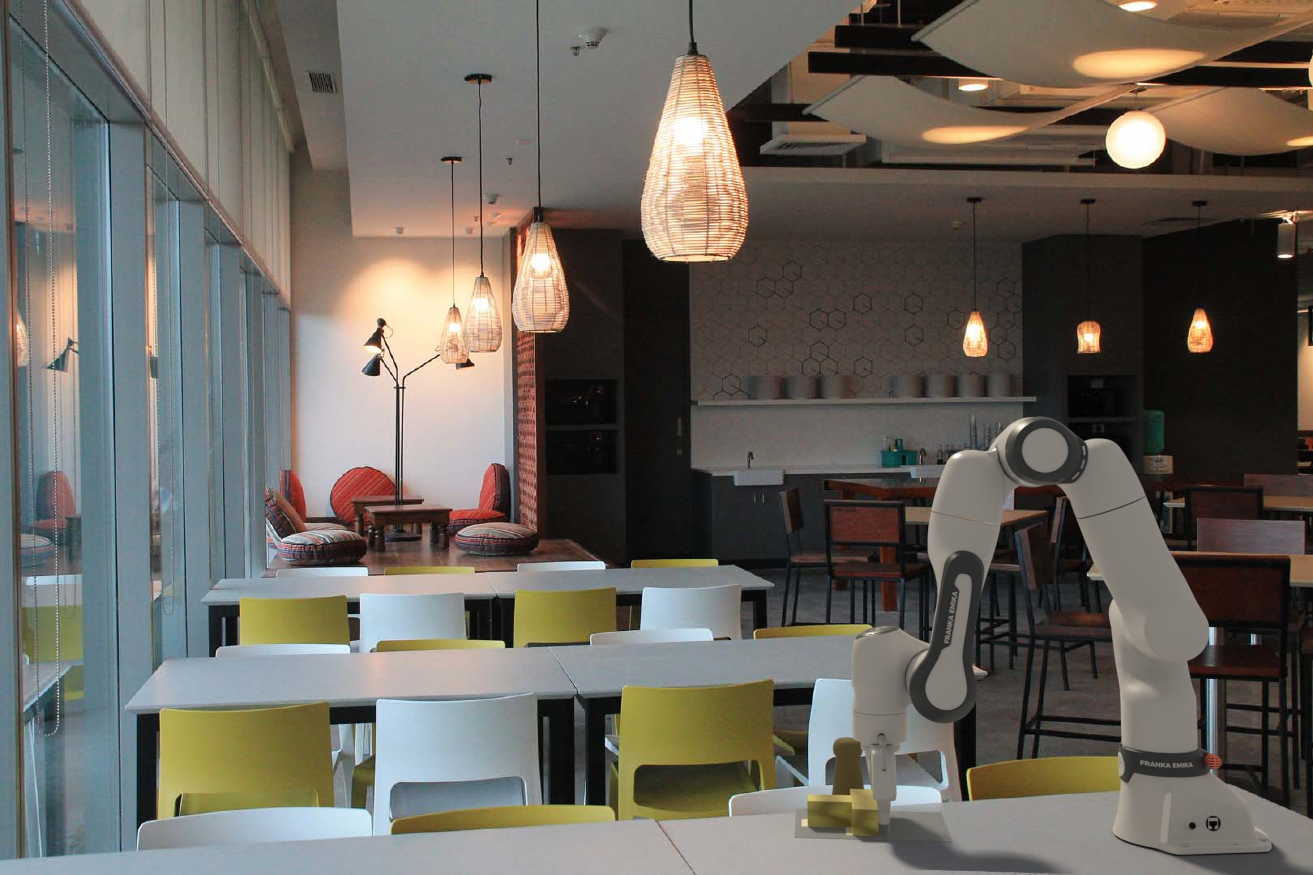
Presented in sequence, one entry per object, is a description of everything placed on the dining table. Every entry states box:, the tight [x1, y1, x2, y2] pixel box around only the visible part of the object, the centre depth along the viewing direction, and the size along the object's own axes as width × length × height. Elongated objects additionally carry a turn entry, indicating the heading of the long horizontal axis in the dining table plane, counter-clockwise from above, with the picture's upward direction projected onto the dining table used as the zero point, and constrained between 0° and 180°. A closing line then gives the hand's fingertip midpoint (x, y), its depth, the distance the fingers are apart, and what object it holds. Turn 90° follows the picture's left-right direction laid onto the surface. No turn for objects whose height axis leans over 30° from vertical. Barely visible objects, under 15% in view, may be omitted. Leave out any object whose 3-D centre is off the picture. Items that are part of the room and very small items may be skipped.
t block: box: [806, 788, 879, 836], centre depth 194 cm, size 11×12×4 cm
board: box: [794, 808, 953, 843], centre depth 193 cm, size 24×16×1 cm, turn 83°
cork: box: [831, 736, 865, 795], centre depth 210 cm, size 6×6×11 cm
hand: (882, 814), depth 193 cm, fingers open, 8 cm apart
